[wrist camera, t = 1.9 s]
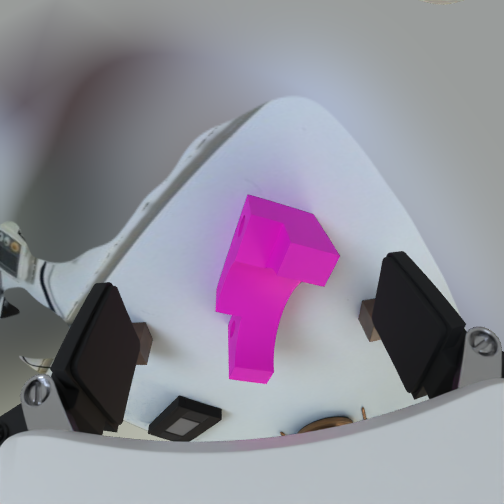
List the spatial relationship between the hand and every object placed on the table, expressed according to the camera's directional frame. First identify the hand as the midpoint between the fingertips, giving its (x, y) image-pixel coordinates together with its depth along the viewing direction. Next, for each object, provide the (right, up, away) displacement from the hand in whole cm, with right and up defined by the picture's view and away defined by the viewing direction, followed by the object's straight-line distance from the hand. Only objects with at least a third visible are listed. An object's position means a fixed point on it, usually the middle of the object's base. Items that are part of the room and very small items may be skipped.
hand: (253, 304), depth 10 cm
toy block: (0, 0, +19) cm, 19 cm away
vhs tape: (-12, -27, +33) cm, 44 cm away
